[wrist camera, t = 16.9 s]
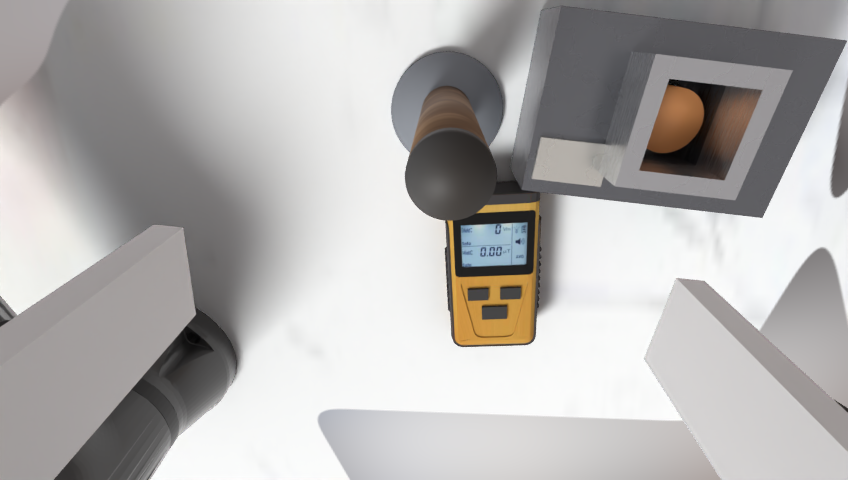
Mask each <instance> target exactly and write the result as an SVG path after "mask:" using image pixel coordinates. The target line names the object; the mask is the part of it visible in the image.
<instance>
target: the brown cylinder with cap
mask: <svg viewBox="0 0 848 480" xmlns="http://www.w3.org/2000/svg"><path fill="white" fill-rule="evenodd" d="M496 181H497V170H496V165H495V162H494V159H493V157H492V154H491V152H490V149H489V147H488V145H487V142H486V140H485V137H484V135H483V133H482V130H481V128H480V126H479V123H478V121H477V118H476V116H475V114H474V111H473V109H472V106H471V104H470V102H469V99H468V98H467V96H466V95H465V94H464V93H463V92H462V91H461V90H460V89H458V88H456V87H453V86H441V87H438V88H436V89H434V90H433V91H431V92H430V93H429V94H428V95H427V97H426V98H425V100H424V102H423V105H422V109H421V113H420V117H419V120H418V124H417V128H416V132H415V136H414V139H413V143H412V147H411V151H410V155H409V158H408V162H407V166H406V171H405V183H406V188H407V191H408V194H409V196H410V198H411V199H412V201H413V202H414V204H415V205H416V206H417V207H418V208H419V209H420V210H421V211H423V212H424V213H426V214H427V215H429V216H431V217H433V218H436V219H440V220H448V221H453V220H460V219H464V218H467V217H470V216H472V215H474V214H475V213H477V212H478V211H480V210H481V209H482V208H483V207H484V206H485V205H486V204H487V203H488V201H489V200H490V198H491V196H492V195H493V192H494V190H495V186H496Z"/></svg>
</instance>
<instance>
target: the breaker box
mask: <svg viewBox="0 0 848 480" xmlns="http://www.w3.org/2000/svg"><path fill="white" fill-rule="evenodd" d="M846 42H847V41H845V40H837V39H829V38H821V37H813V36H804V35H796V34H788V33H780V32H771V31H763V30H755V29H747V28H739V27H730V26H722V25H714V24H706V23H698V22H689V21H681V20H673V19H665V18H657V17H648V16H640V15H632V14H624V13H615V12H607V11H599V10H591V9H583V8H574V7H566V6H558V7H554V8H550V9H545V10H541V14H540V19H539V24H538V29H537V34H536V39H535V44H534V49H533V54H532V59H531V64H530V69H529V74H528V79H527V84H526V89H525V94H524V99H523V104H522V109H521V114H520V119H519V124H518V129H517V134H516V139H515V144H514V149H513V154H512V160H511V165H510V168H511V170H512V172H513V174H514V176H515V178H516V180H517V182H518V184H519V186H520V188H521V190H527V191H535V192H544V193H553V194H561V195H570V196H578V197H587V198H596V199H604V200H613V201H622V202H630V203H639V204H648V205H656V206H665V207H673V208H682V209H691V210H699V211H708V212H717V213H725V214H734V215H742V216H751V217H760V218H762V217H763V215H764V213H765V211H766V209H767V207H768V205H769V203H770V201H771V199H772V196H773V194H774V192H775V190H776V188H777V186H778V184H779V182H780V180H781V178H782V176H783V174H784V171H785V169H786V167H787V165H788V163H789V161H790V159H791V157H792V155H793V153H794V151H795V148H796V146H797V144H798V142H799V140H800V138H801V136H802V134H803V132H804V130H805V128H806V126H807V123H808V121H809V119H810V117H811V115H812V113H813V111H814V109H815V107H816V105H817V103H818V100H819V98H820V96H821V94H822V92H823V90H824V88H825V86H826V84H827V82H828V80H829V78H830V75H831V73H832V71H833V69H834V67H835V65H836V63H837V61H838V59H839V57H840V55H841V53H842V50H843V48H844V46H845V44H846ZM669 79H675V80H680V82H679V85H678V87H683V88H687V89H690V90H691V91H693V92H695V93H696V94H697V95H698V96H699V98H700V99H701V101H702V103H703V107H704V118H703V123H702V126H701V128H700V130H699V132H698V133H697V135H696V136H695V137H694V138H693V139H692V140H691V141H690V142H689V143H688V144H687V145H685V146H684V147H682V148H680V149H678V150H676V151H673V152H669V153H657V152H653V151H651V150H649V149H647V145H648V142H649V139H650V136H651V133H652V130H653V127H654V124H655V121H656V118H657V115H658V112H659V109H660V106H661V103H662V100H663V97H664V94H665V90H666V87H667V84H668V81H669Z"/></svg>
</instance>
